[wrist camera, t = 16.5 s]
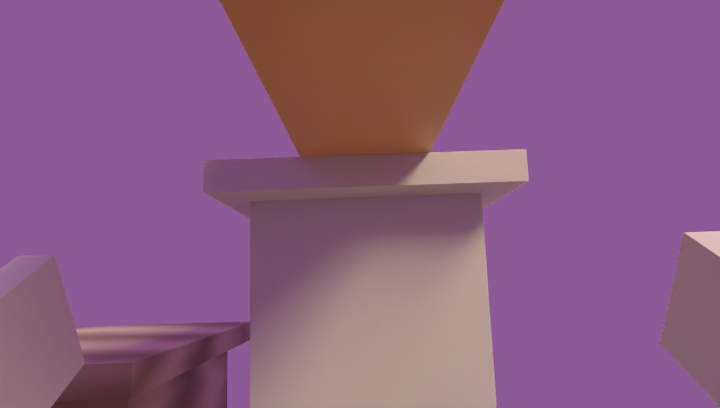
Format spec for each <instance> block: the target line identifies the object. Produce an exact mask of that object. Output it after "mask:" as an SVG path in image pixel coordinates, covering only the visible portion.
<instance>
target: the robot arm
mask: <svg viewBox="0 0 720 408" xmlns="http://www.w3.org/2000/svg"><path fill="white" fill-rule="evenodd" d="M660 343H661V345H663V347H664V348H665V349H666V350H667V351H668V352H669V353H670V354H671V355H672V357H673V358H674V359H675V360H676V361H677V362H678V363H679V364H680V365H681V366H682V368H683V369H684V370H685V371H686V372H687V373H688V374H689V375H690V376H691V377H692V378H693V380H694V381H695V382H696V383H697V384H698V385H699V386H700V387H701V388H702V389H703V390H704V392H705V393H706V394H707V395H708V396H709V397H710V398H711V399H712V400H713V401H714V403H715V404H717V406H718V407H719V408H720V231H715V232H685V233H684V234H683V239H682V243H681V248H680V253H679V257H678V262H677V267H676V271H675V276H674V281H673V285H672V290H671V295H670V299H669V304H668V309H667V313H666V318H665V323H664V327H663V332H662V336H661V342H660ZM84 364H85V360H84V357H83V353H82V350H81V346H80V342H79V339H78V335H77V332H76V328H75V325H74V321H73V318H72V314H71V311H70V307H69V304H68V300H67V296H66V293H65V289H64V286H63V282H62V279H61V275H60V271H59V268H58V265H57V261H56V258H55V255H32V256H18V257H16V258H15V259H13V260H12V261H11V262H9V263H8V264H7V265H5V266H4V267H3V268H1V269H0V408H51V407H52V405H53V404H54V403H55V401H56V400H57V399H58V397H59V396H60V395H61V394H62V392H63V391H64V390H65V388H66V387H67V386H68V384H69V383H70V382H71V381H72V379H73V378H74V377H75V375H76V374H77V373H78V371H79V370H80V369H81V368H82V366H83V365H84Z"/></svg>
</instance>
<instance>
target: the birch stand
mask: <svg viewBox="0 0 720 408" xmlns="http://www.w3.org/2000/svg"><path fill="white" fill-rule="evenodd" d="M76 332H77V335H78V339H79V342H80V346H81V350H82V353H83V357H84V360H85V364H84V365H83V366H82V368H81V369H80V370H79V371H78V373H77V374H76V375H75V377H74V378H73V379H72V381H71V382H70V383H69V384H68V386H67V387H66V388H65V390H64V391H63V392H62V394H61V395H60V396H59V397H58V399H57V400H56V401H55V403H54V404H53V405H52V407H51V408H227V351H228V350H230V349H232V348H234V347H236V346H239V345H241V344H243V343H245V342H247V341H249V340H250V322H222V323H192V324H161V325H132V326H101V327H85V328H79V329H76Z"/></svg>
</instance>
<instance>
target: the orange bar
mask: <svg viewBox="0 0 720 408" xmlns="http://www.w3.org/2000/svg"><path fill="white" fill-rule="evenodd" d="M220 2H221V4H222V5H223V8H224V10H225V12H226V13H227V16H228V17H229V19H230V21H231V23H232V25H233V27H234V29H235V31H236V33H237V35H238V37H239V39H240V41H241V42H242V45H243V47H244V49H245V51H246V52H247V54H248V56H249V58H250V60H251V62H252V64H253V66H254V68H255V70H256V72H257V74H258V76H259V78H260V80H261V82H262V84H263V85H264V87H265V89H266V91H267V93H268V95H269V97H270V99H271V101H272V103H273V105H274V107H275V109H276V111H277V113H278V114H279V116H280V118H281V120H282V122H283V124H284V126H285V128H286V130H287V132H288V134H289V136H290V138H291V140H292V142H293V143H294V145H295V148H296V150H297V152H298V154H299V155H300V157H317V156H345V155H374V154H403V153H429V152H430V150H431V148H432V146H433V144H434V142H435V140H436V138H437V136H438V134H439V132H440V130H441V128H442V126H443V124H444V122H445V120H446V118H447V116H448V114H449V112H450V110H451V107H452V105H453V103H454V101H455V99H456V97H457V95H458V93H459V91H460V89H461V87H462V85H463V83H464V81H465V79H466V77H467V75H468V73H469V71H470V69H471V67H472V65H473V63H474V61H475V59H476V57H477V55H478V53H479V51H480V48H481V46H482V45H483V43H484V41H485V38H486V36H487V34H488V32H489V30H490V28H491V26H492V24H493V22H494V20H495V18H496V16H497V14H498V12H499V10H500V8H501V6H502V4H503V2H504V0H220Z"/></svg>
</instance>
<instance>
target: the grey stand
mask: <svg viewBox="0 0 720 408" xmlns="http://www.w3.org/2000/svg"><path fill="white" fill-rule="evenodd" d="M527 181H529V178H528V166H527V155H526V149H517V150H489V151H461V152H431V153H403V154H374V155H345V156H317V157H289V158H263V159H262V158H260V159H231V160H204V173H203V192H204V193H206V194H208V195H209V196H211V197H213V198H215V199H216V200H218V201H220V202H222V203H223V204H226V205H227V206H229V207H231V208H233V209H234V210H236V211H238V212H240V213H241V214H243V215H245V216H247V217H249V218H250V408H497V406H496V392H495V380H494V379H495V378H494V364H493V350H492V336H491V322H490V309H489V294H488V282H487V281H488V280H487V266H486V253H485V240H484V225H483V211H482V210H483V209H484V208H486V207H487V206H489V205H491V204H492V203H494V202H496V201H497V200H499V199H501V198H502V197H504V196H505V195H507V194H509V193H510V192H512V191H513V190H515V189H516V188H518V187H520V186H521V185H523V184H524V183H526V182H527Z"/></svg>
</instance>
